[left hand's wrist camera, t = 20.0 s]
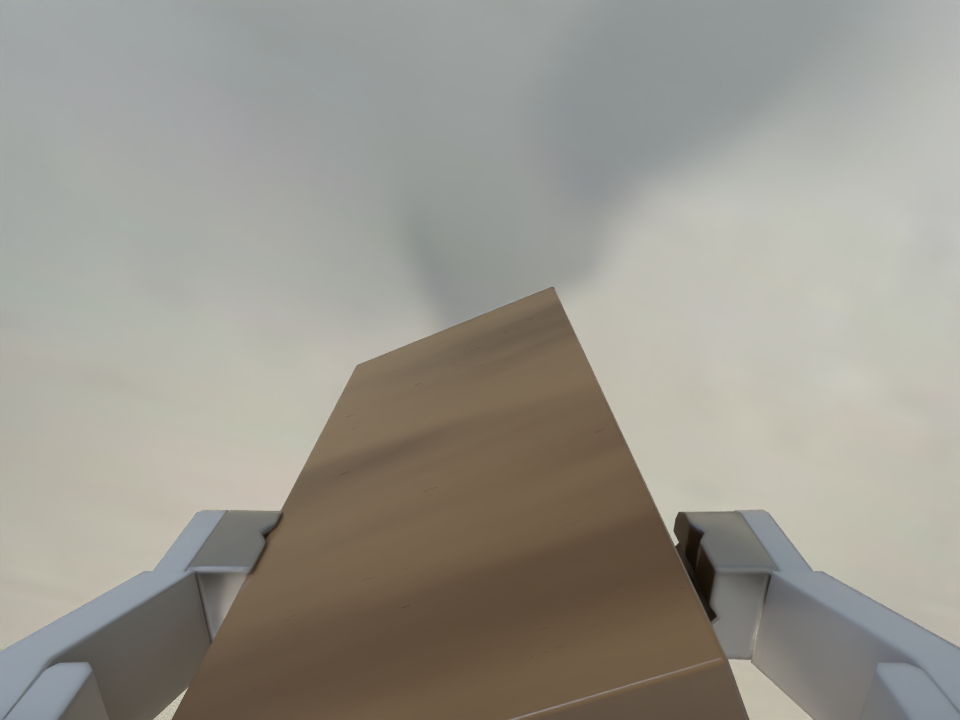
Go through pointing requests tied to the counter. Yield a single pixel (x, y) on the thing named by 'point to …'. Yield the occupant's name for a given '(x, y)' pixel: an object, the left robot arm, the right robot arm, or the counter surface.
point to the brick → (469, 554)
